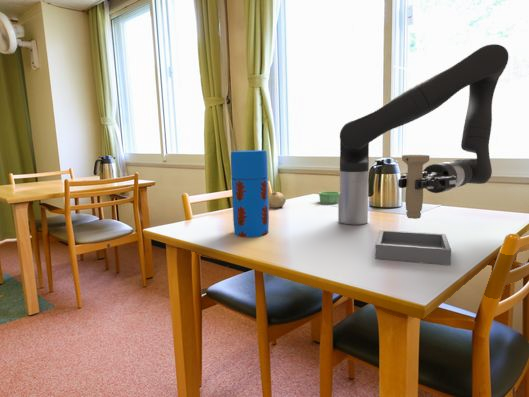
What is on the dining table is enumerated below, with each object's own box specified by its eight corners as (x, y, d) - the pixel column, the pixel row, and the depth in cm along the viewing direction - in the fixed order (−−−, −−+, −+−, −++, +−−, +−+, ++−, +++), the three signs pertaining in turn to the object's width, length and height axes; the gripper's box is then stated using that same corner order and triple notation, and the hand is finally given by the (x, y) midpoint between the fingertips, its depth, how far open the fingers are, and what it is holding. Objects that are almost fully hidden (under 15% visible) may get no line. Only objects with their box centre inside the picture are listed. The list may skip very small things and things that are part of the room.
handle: (415, 221, 88) (417, 156, 85) (396, 216, 94) (397, 155, 91) (431, 219, 89) (433, 155, 87) (411, 214, 95) (413, 154, 93)
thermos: (256, 239, 109) (253, 152, 105) (226, 234, 115) (223, 152, 111) (275, 230, 118) (273, 150, 114) (247, 227, 124) (244, 150, 120)
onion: (264, 206, 159) (264, 189, 158) (282, 205, 161) (282, 188, 160) (269, 210, 152) (268, 192, 151) (288, 208, 154) (287, 191, 152)
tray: (375, 258, 89) (375, 244, 89) (379, 242, 102) (379, 230, 102) (450, 265, 84) (451, 249, 83) (444, 247, 97) (445, 234, 96)
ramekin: (342, 201, 166) (342, 191, 165) (335, 205, 158) (335, 194, 158) (323, 200, 171) (323, 190, 170) (315, 203, 163) (315, 193, 162)
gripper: (418, 161, 104) (381, 166, 93) (472, 163, 93) (438, 169, 82) (417, 188, 105) (381, 196, 94) (470, 193, 94) (437, 203, 84)
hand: (408, 184), depth 88 cm, fingers closed on handle, 3 cm apart
